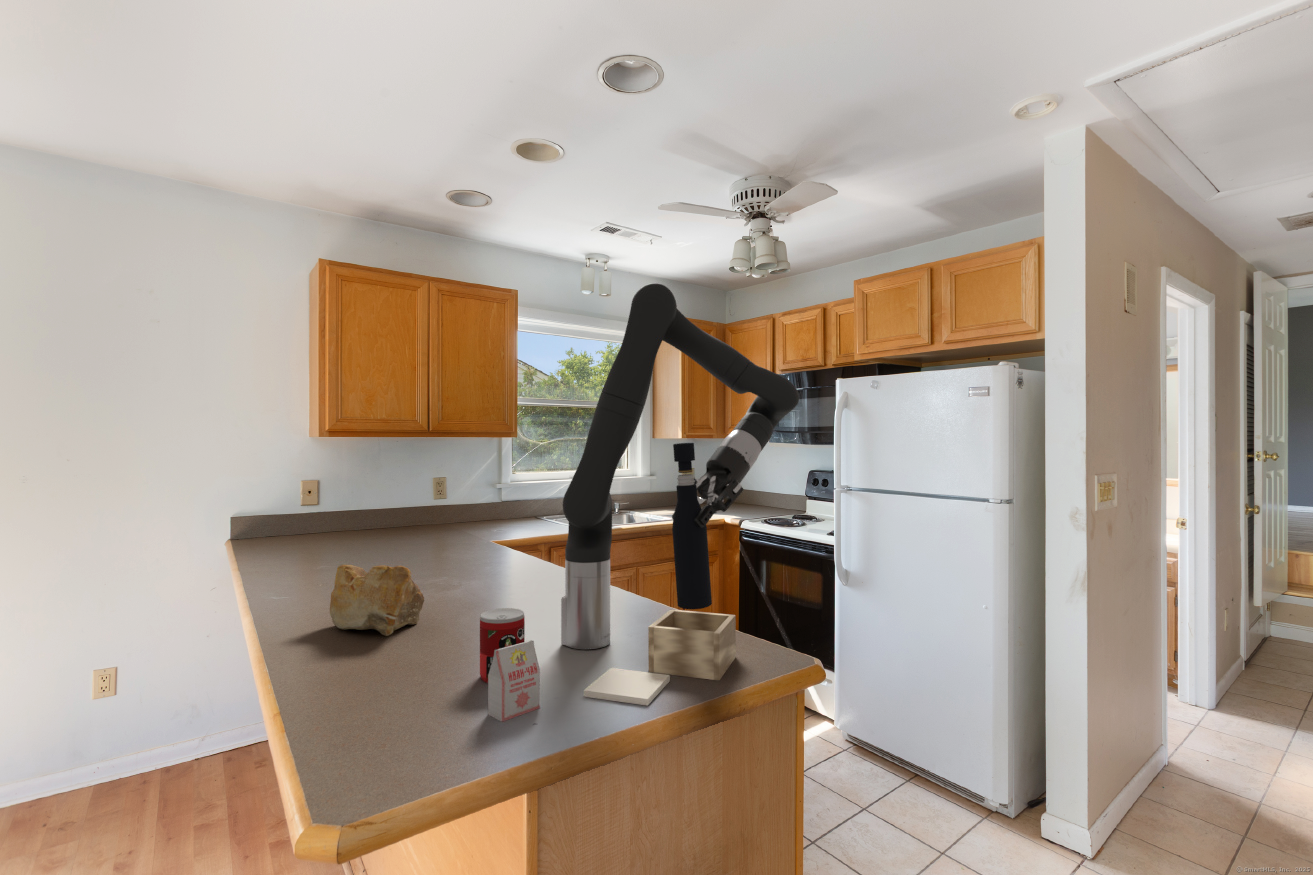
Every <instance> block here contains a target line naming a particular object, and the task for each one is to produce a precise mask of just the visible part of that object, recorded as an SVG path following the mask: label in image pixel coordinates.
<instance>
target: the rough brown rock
mask: <svg viewBox="0 0 1313 875" xmlns="http://www.w3.org/2000/svg"><path fill="white" fill-rule="evenodd" d="M424 603H425V596H424V594H423V593H422V591H421V589H420V588H419V585H418V584H416V583H415V582H414V580H413V579H412V573H411V570H410V569H409V568H408V567H406V566H403V565H396V566H389V565H384V564H383V565H382V564H381V565H375V566H372V567H371V568H370V569H369V570H368V572H366V570H364V568H363V567H359V566H356V565H353V564H340V565H338V566H337V568H336V573H335V579H334V587H333V590H332V591H331V593H330V603H329V615H330V618H331V620H332V621H331V622H332V623H333V625H334V626H336V628H338V629H340V630H358V631H360V630H361V631H365V630H370V629H371V630H376V631H377V632H379V634H381V635H383V636H386V637H388V636H390V635H392V634H394V631H396V630H398V629H401V628H402V627H405V626H406V625H407V626H413V625H417V624H418V622H419V620H420V613H421V611H422V608H423V606H424Z"/></svg>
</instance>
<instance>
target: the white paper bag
mask: <svg viewBox="0 0 1313 875" xmlns="http://www.w3.org/2000/svg"><path fill="white" fill-rule="evenodd" d="M487 686H488V687H487V688H488V689H487V695H488V696H487V697H488V700H487V702H488V705H487V706H488V707H487V713H488V715H489V716H490V717H493V718H494V719H496V720H498V721H499V722H505V721H507V720H510V719H513V718H516V717H518V716H522V715H524V714H527V713H531V712H533V711H535V710H538V709H540V708H541V707H540V706H541V704H540V703H541V702H540V701H541V699H540V698H541V668H540V665H539V661H538V656H537V652H536V648H535V641H534V640H528V641H525V642H523V643H520V644H516V645H512V646H508V647H505V648H501V649H497V650H495V651H494V657H493V661H492V665H491V668H490V671H489V674H488V683H487Z"/></svg>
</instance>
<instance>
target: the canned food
mask: <svg viewBox="0 0 1313 875" xmlns="http://www.w3.org/2000/svg"><path fill="white" fill-rule="evenodd" d="M479 617H480V618H479V675H480V679H481V681H483V682H484V683H487V684H488V674H489V671H490V668H491V665H492V661H493V657H494V651H495V650H497V649H501V648H505V647H508V646H512V645H516V644H520V643H523V642H526V641H525V635H526V634H525V627H526V626H525V625H526V624H525V611H523V610H522V609H519V608H514V607H513V608H512V607H505V608H504V607H503V608H493V609H489V610H486V611H483V612H482V613H480V616H479Z"/></svg>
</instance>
